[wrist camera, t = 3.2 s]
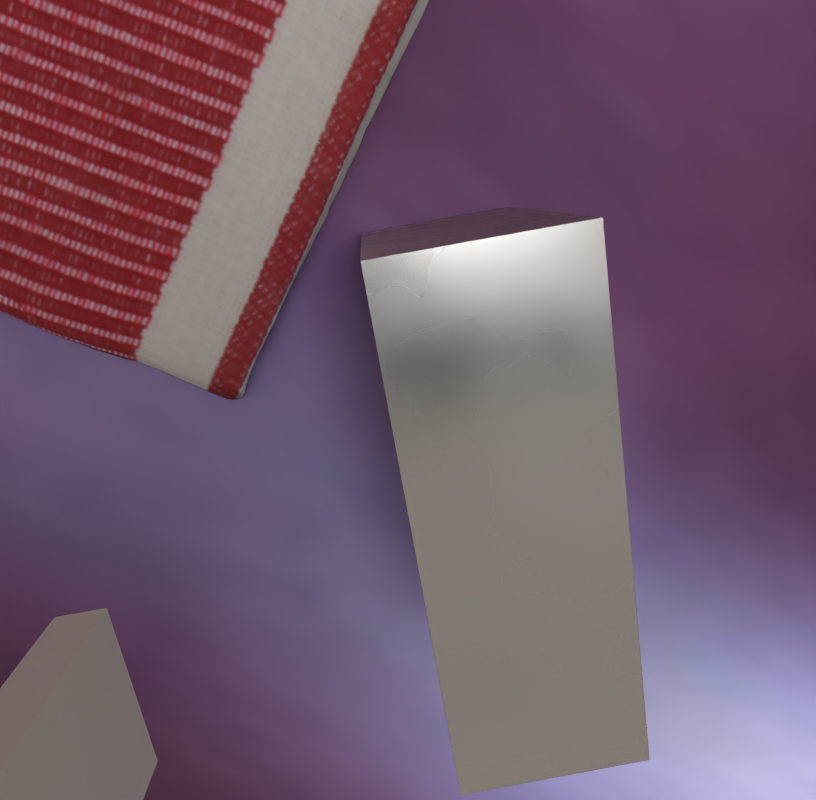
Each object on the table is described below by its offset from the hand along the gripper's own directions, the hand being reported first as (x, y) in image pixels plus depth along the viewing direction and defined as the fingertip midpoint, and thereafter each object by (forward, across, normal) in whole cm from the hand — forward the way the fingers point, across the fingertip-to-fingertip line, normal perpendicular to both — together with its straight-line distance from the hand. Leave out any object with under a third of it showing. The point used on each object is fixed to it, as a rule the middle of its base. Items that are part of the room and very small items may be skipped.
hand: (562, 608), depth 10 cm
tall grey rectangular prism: (+8, 0, 0) cm, 9 cm away
